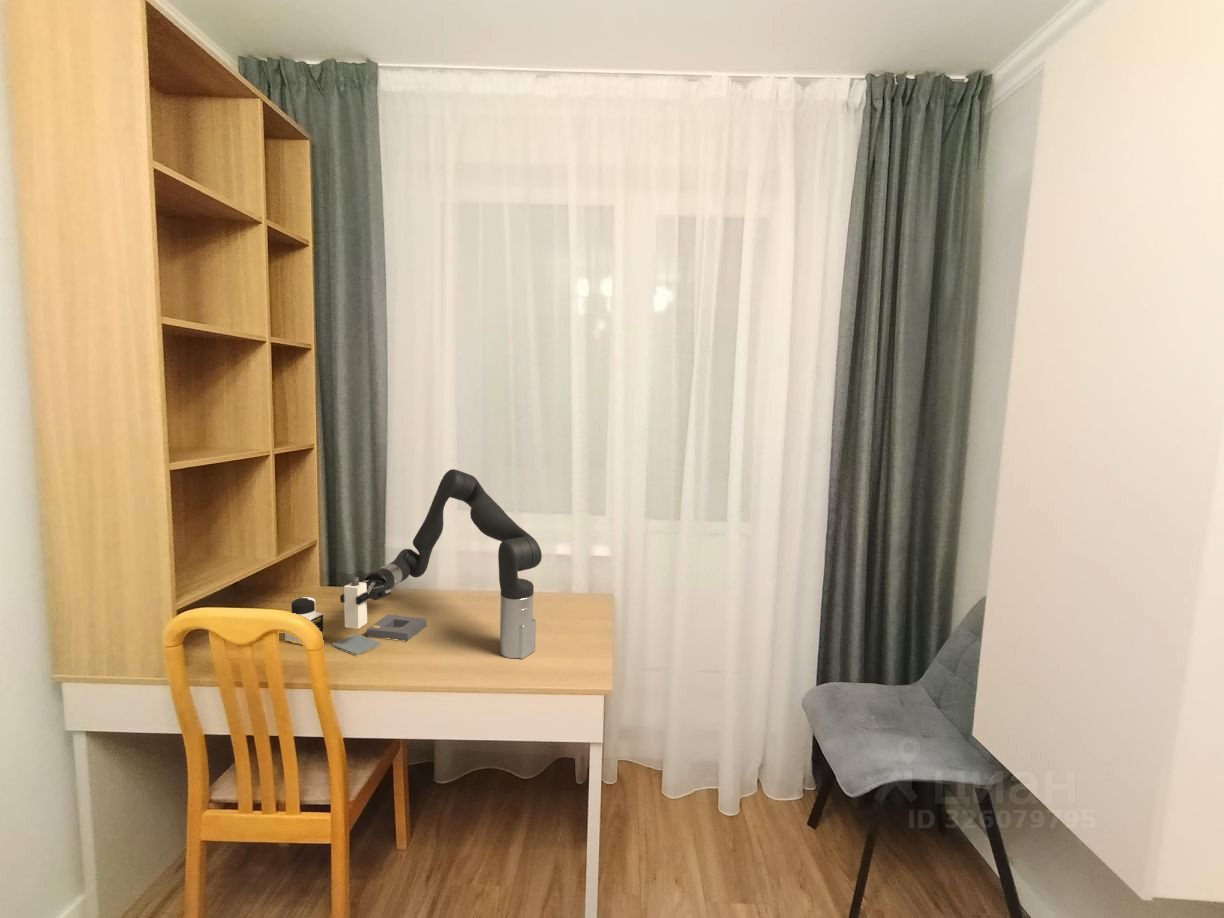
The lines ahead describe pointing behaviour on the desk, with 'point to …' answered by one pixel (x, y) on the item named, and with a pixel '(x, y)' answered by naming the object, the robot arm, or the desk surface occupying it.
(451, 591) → the desk surface
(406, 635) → the socket block
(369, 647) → the mat
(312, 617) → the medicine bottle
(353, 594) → the plug
